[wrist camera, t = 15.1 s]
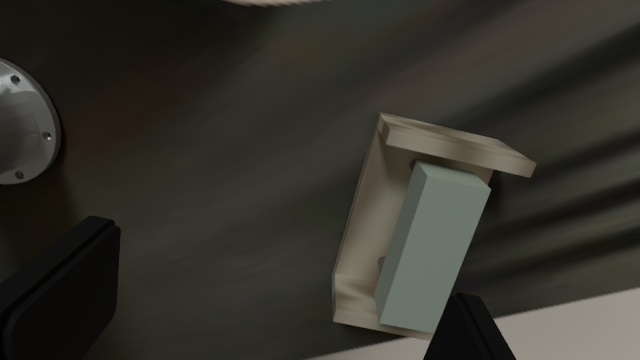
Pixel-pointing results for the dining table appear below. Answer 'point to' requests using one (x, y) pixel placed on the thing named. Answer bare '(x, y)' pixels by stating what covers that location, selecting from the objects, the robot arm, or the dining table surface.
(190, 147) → the dining table surface
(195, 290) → the dining table surface
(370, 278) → the shelf frame
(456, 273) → the grey-green rectangular block
